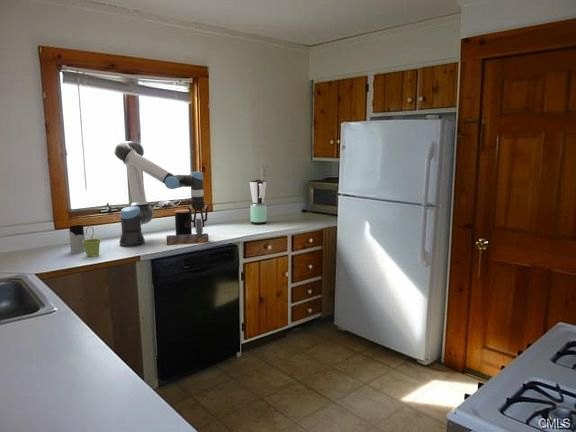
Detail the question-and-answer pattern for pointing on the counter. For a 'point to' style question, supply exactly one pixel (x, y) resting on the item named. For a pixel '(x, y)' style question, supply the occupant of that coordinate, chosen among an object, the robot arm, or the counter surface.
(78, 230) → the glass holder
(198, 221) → the fader
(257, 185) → the mint green blender
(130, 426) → the counter surface
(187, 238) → the block
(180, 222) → the coffee jar
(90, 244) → the plant pot
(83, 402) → the counter surface
